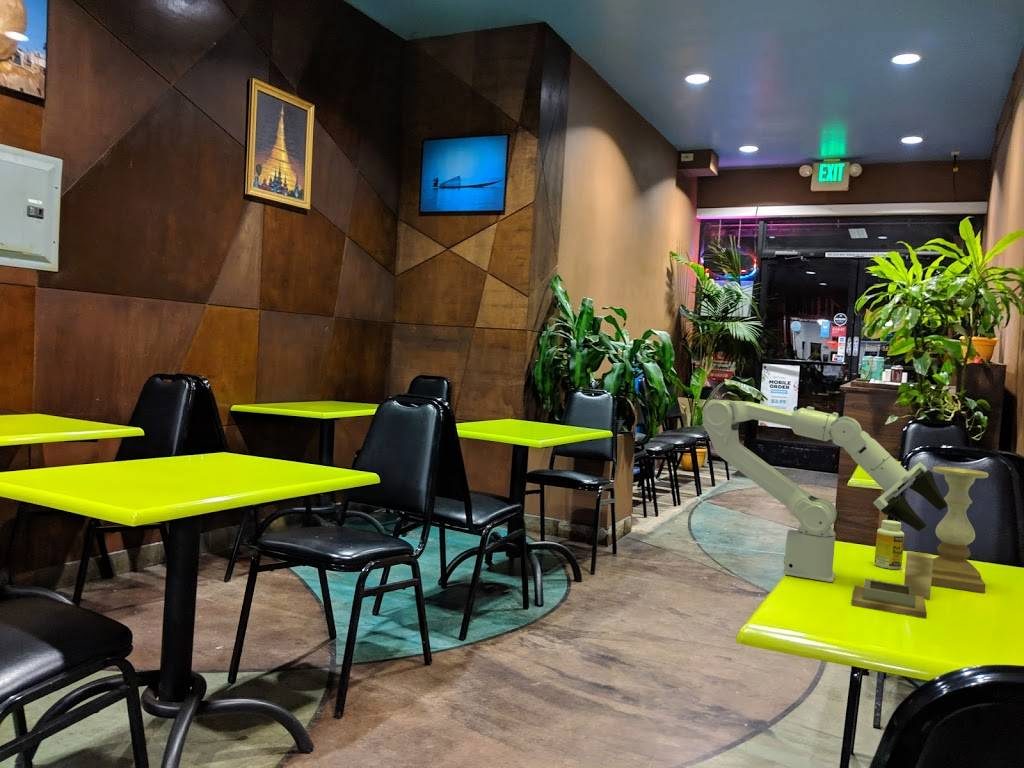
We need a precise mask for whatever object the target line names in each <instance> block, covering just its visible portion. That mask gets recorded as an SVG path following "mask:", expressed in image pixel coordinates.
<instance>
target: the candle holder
mask: <svg viewBox="0 0 1024 768" xmlns="http://www.w3.org/2000/svg"><path fill="white" fill-rule="evenodd" d="M933 472H934V473H936V474H938V475H943V477H944V480H945V482H946V483H947V484H948V492H947V494H946V496H944V497H943V498H944V500H945V501H946V503H947V504H948V506H947V512H946V513H945V515H944V517H943V518H942V519H941V520H940V521H939V522H938V524H937V525H936V528H935V535H936V537H937V538H938V539H939V541H941V543H940V544H939V545H938V546H937V548H936V549H937V553H939V556H936V557H933V568H932V580H931V587H932V586H933V587H939V588H944V589H945V588H946V589H951V590H958V591H964V592H965V591H966V592H971V593H972V592H973V593H978V594H979V593H980V594H985V593H986V583H985V581H984V580H983V579H982V574H981V573H980V571H979V570H978V569H977V568H976V567H975V565H973V564H972V563H971V561H968V560H967V559H968V558H969V557H971V550H970V548H969V547H968V545H970V544H971V543H973V542H974V540H975V539H976V532H975V529H974V527H973V525H972V524H971V522H970V520H969V518H968V516H967V510H968V509H969V508H970V505H972V504H973V500H972V499H971V497H970V495H969V490H970V488H971V486H972V485H974V483H975V481H976V479H987V478H989V473H988V472H986V471H982V470H978V469H977V470H975V469H970V468H963V467H962V468H961V467H950V466H933V467H932V473H933Z"/></svg>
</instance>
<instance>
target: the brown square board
mask: <svg viewBox="0 0 1024 768" xmlns="http://www.w3.org/2000/svg"><path fill="white" fill-rule="evenodd" d="M863 594H864V586H860V585H854V586H853V592H852V596H851V606H854V607H860V608H865V609H871V610H877V611H881V610H882V612H887V611H889V612H888V613H893V612H895V613H894V614H898V613H900V614H899V615H904V614H905V615H906V616H910V615H911V616H910V617H916V618H921V617H922V619H927V616H928V611H927V607H926V602H925V599H924V597H921V596H916V601H915V608H911V607H905V606H899V605H893V604H888V603H882V602H876V601H870V600H864V599H863Z"/></svg>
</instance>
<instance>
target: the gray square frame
mask: <svg viewBox="0 0 1024 768" xmlns="http://www.w3.org/2000/svg"><path fill="white" fill-rule="evenodd" d="M863 585H864V586H863V587H864V594H863V599H864V600H870V601H876V602H882V603H888V604H893V605H899V606H905V607H911V608H915V601H916V595H915V588H914V587H913V586H907V585H904V584H899V583H894V582H888V581H880V580H874V579H869V578H865V579H864V584H863Z"/></svg>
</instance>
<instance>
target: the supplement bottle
mask: <svg viewBox="0 0 1024 768" xmlns="http://www.w3.org/2000/svg"><path fill="white" fill-rule="evenodd" d="M904 541H905V532H903V531H902V521H901V522H900V521H896V520H890V519H883V520H881V524H880V528H878V529H877V530H876V541H875V551H874V565H876V566H877V567H879V568H883V569H887V568H888V570H900V569H901V568H902V566H903V553H904V543H905V542H904Z"/></svg>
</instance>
